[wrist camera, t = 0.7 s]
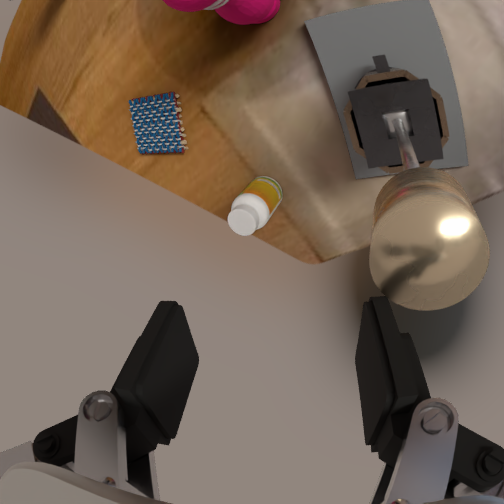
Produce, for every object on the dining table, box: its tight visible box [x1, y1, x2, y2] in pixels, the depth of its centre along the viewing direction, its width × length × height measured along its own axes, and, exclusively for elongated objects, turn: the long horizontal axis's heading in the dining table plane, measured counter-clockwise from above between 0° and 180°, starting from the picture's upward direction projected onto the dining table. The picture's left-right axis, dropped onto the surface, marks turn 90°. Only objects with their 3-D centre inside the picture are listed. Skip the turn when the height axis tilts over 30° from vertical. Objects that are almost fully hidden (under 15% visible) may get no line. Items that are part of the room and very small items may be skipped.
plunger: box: [369, 83, 490, 311], centre depth 15 cm, size 7×7×21 cm
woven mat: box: [129, 92, 188, 154], centre depth 46 cm, size 10×11×2 cm
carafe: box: [343, 54, 450, 174], centre depth 26 cm, size 10×11×12 cm
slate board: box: [304, 0, 468, 179], centre depth 30 cm, size 16×22×1 cm
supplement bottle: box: [228, 176, 283, 236], centre depth 43 cm, size 5×5×10 cm
